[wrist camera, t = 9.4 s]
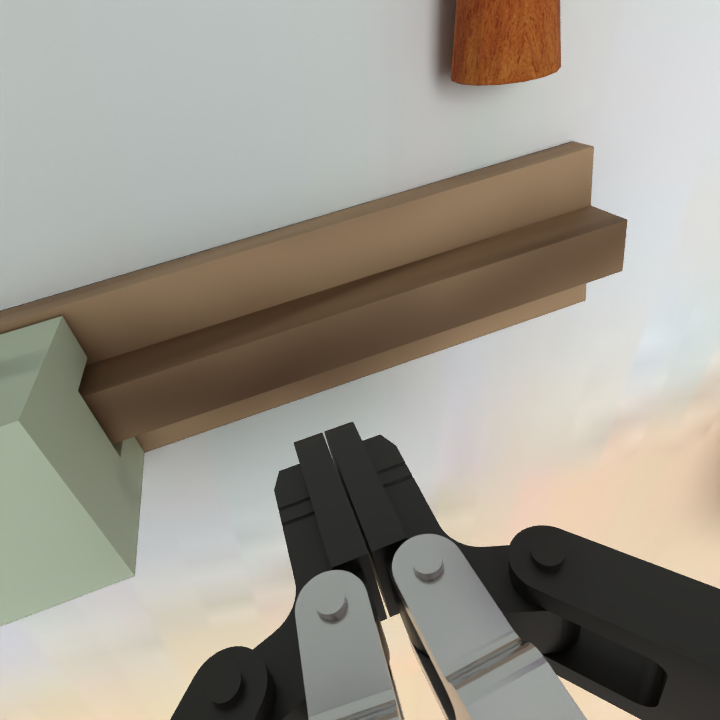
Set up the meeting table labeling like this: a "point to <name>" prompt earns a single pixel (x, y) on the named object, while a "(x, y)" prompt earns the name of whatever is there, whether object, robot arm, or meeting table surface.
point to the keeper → (59, 479)
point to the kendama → (505, 41)
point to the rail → (334, 296)
